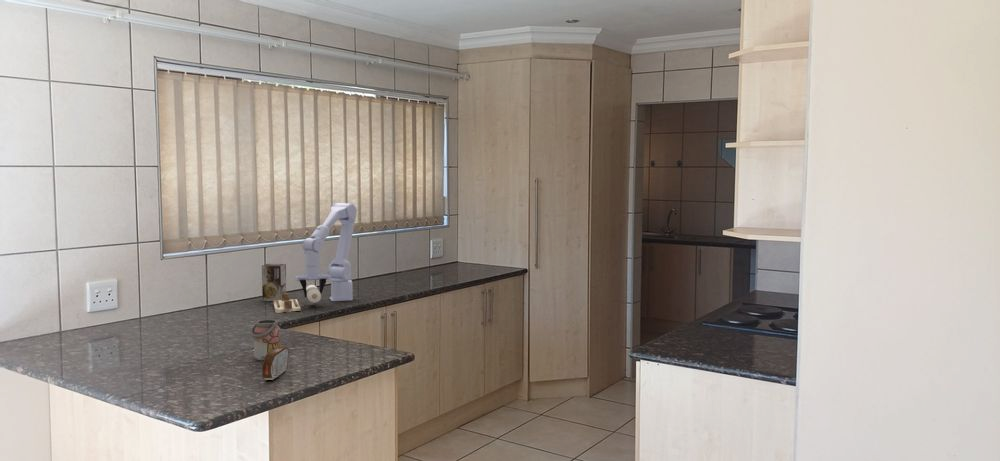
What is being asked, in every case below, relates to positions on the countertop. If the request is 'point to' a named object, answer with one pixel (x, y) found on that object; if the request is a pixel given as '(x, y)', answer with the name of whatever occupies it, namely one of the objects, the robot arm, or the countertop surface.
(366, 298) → the countertop surface
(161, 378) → the countertop surface
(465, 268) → the countertop surface
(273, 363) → the tin
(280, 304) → the roll holder
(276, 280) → the coffee box
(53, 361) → the countertop surface
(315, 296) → the paper roll
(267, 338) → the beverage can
